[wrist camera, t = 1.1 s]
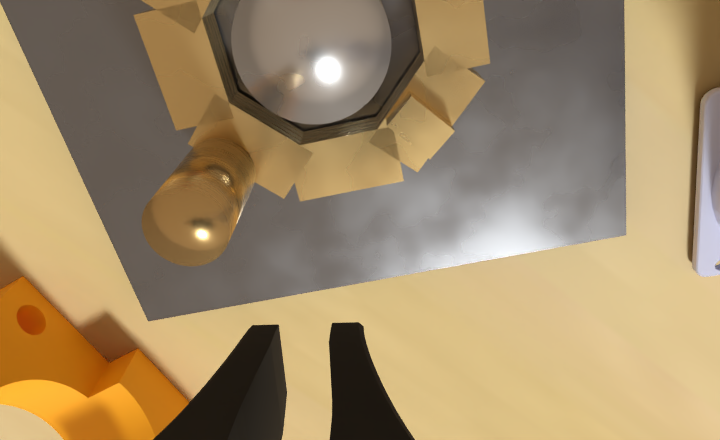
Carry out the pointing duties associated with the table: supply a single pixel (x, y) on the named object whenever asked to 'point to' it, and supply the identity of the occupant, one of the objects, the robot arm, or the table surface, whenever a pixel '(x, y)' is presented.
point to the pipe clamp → (77, 375)
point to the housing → (337, 106)
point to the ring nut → (280, 138)
